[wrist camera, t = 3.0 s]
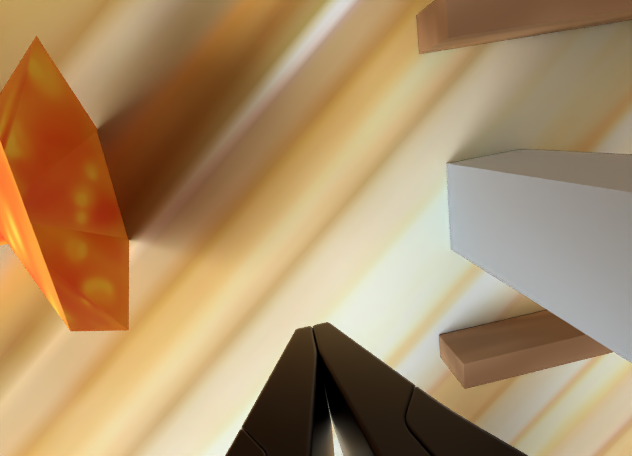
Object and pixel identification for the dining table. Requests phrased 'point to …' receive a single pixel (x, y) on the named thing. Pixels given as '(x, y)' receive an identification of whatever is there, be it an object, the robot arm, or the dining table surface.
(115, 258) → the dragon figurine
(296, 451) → the robot arm
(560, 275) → the long block
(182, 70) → the dining table surface
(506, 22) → the rail pen
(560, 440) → the dining table surface
